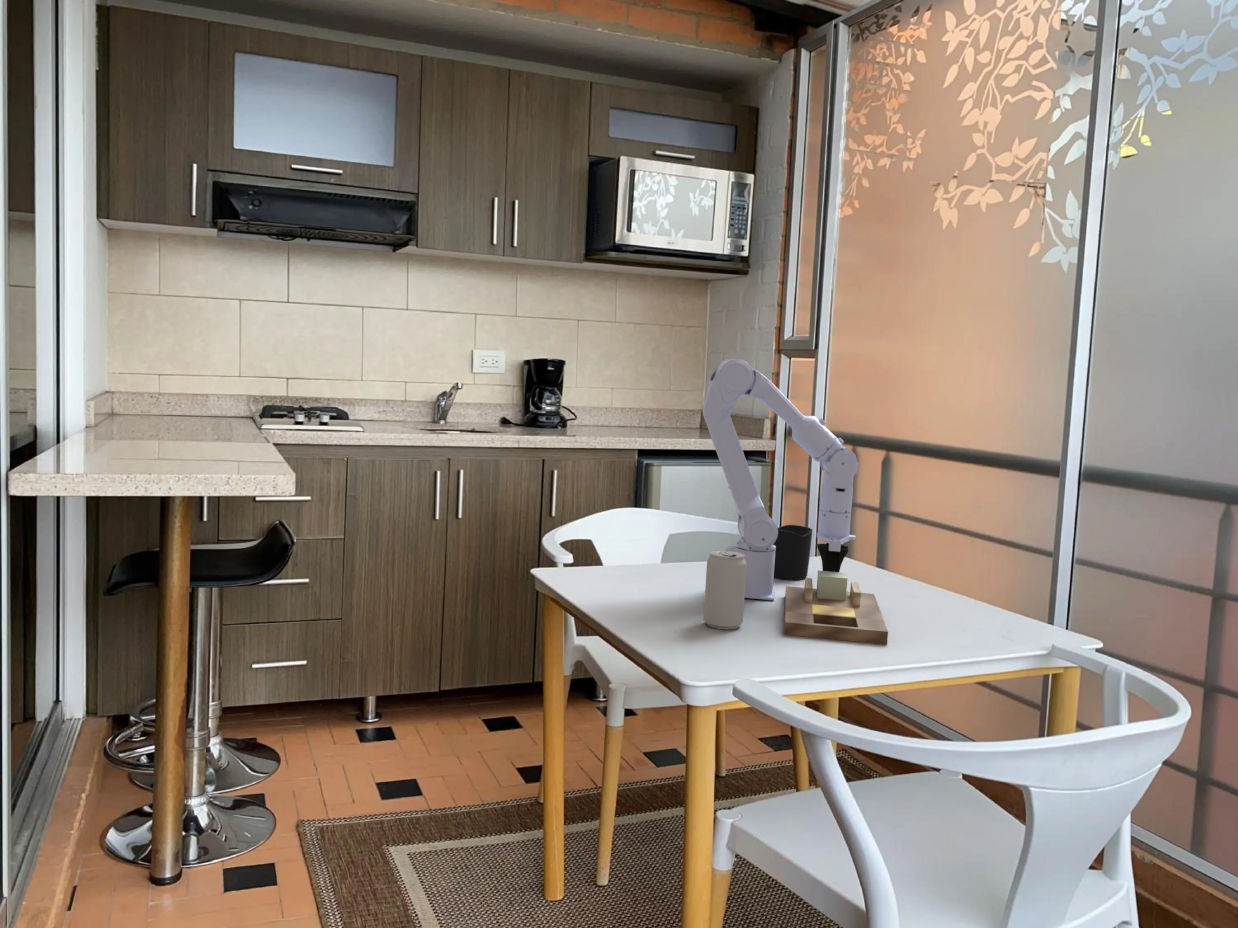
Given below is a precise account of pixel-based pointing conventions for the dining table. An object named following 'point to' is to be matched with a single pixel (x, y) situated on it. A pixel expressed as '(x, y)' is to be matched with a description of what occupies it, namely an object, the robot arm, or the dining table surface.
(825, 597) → the block
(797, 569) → the pen holder
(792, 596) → the deck
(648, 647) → the dining table surface
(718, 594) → the beverage can
